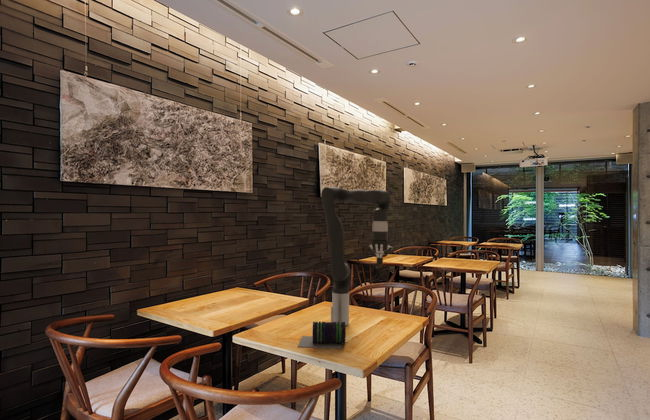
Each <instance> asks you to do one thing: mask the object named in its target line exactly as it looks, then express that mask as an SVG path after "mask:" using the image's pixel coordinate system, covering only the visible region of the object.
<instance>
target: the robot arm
mask: <svg viewBox="0 0 650 420" xmlns="http://www.w3.org/2000/svg"><path fill="white" fill-rule="evenodd" d="M320 196H321V197H320V199H321V203H322V204H321V205H322V208H323V213H324V217H325V218H324V219H325V225H326V226H325V227H326V234H327V235H326V236H327V241H328V248H329V253H330V255H329V256H330V273H331V277H332V279H333V285H332V287H331V288H332V290H331V291H332V292H331V294H332V298H331V299H332V301H331V304H332V305H331V306H330V322H336V323H337V322H340V323H341V322H345V326H348V325H349V324H350V288H351V268H350V266H349V264H348V263H346V262H345V256H344V255H345V254H344V250H345V241H346V240H345V239H346V237H345V231H344V230H345V229H344V226H343V223H342V221H341V219H340V218H339V216H338V215H337V212H336V208H335V204H337V203H343V202H344V203H345V202H351V203H356V204H371V205H376V206H377V207H376V209H374V210H373V213H372V225H371V226H372V227H371V228H372V229H371V230H372V231H371V232H372V234H371V235H372V237H371V238H372V240H371V242H370V244H369V245H367V247H366V248H367V249H368V251H369V252H370V254H371V255H372V256H373V257H375V258H376V264H377V266H378V267H379V266H382V265H383V263H384V258H385V257H387V256H388V255H389V254H390V253H391V251H392V250H393V249H394V247H393V246H391V245H390V243H389V240H388V237H389V235H388V233H389V227H388V226H389V224H388V211H389V208H390V204H391V196H390V193H389V191H387V190H383V189H347V188H346V189H345V188H341V187H338V186H325V187H324V188H323V189H322V190H321V195H320ZM374 250H375V251H374ZM385 251H386V252H385Z"/></svg>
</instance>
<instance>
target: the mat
mask: <svg viewBox="0 0 650 420" xmlns="http://www.w3.org/2000/svg"><path fill="white" fill-rule="evenodd" d="M297 348H309V349H310V348H311V349H331V350H332V349H335V350H337V349H338V350H342V349H343V343H342V344H341V343H340V344H337V342H336V344H334V343H321V344H318V343H313V335H311V336H310V335H308V336H307V335H302V336H301V338H300V339H299V342H298V345H297Z"/></svg>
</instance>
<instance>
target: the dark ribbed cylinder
mask: <svg viewBox="0 0 650 420" xmlns="http://www.w3.org/2000/svg"><path fill="white" fill-rule="evenodd" d="M346 334H347V333H346V325H345V322H341V323H340V322H337V323H336V322H331V321H312V336H313V343H318V344H321V343H334V344H336V342H337V344H340V343H341V344H342V345H345V344H346V341H347V339H346V338H347V337H346V336H347V335H346Z"/></svg>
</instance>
